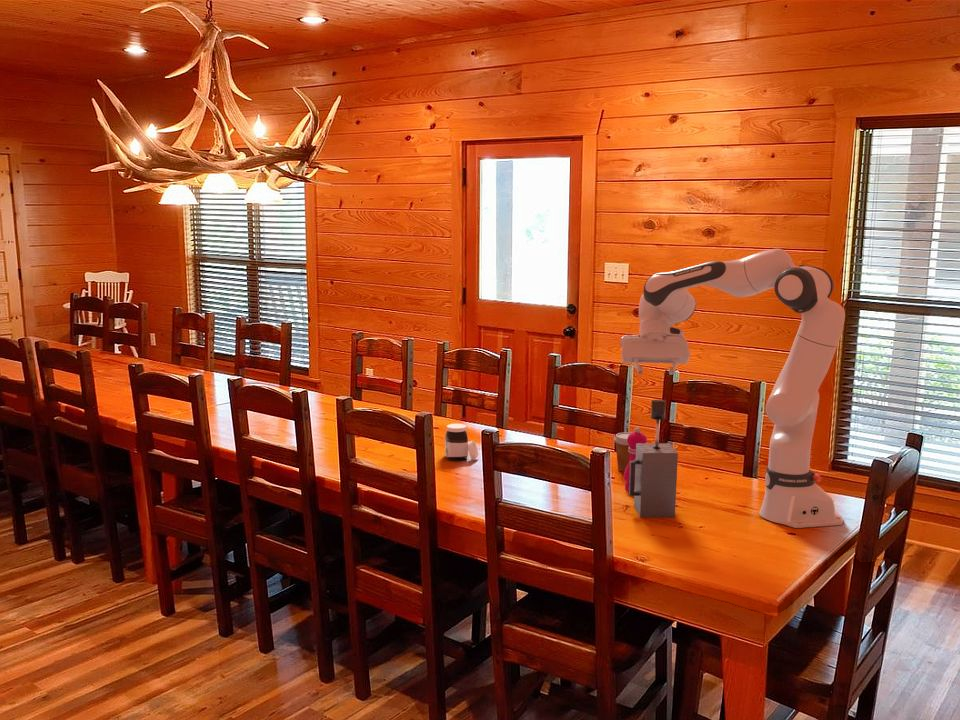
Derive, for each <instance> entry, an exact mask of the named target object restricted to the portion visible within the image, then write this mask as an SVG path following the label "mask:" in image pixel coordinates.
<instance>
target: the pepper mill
mask: <svg viewBox="0 0 960 720" xmlns="http://www.w3.org/2000/svg"><path fill="white" fill-rule="evenodd" d="M630 433H631V434H630V435H629V436H628V438H627V443H628V445H629V446H630V447H629V450H628V451H629V452H630V460H629V463H628V465H627V467H626V469H625V472H623V478H624V480H625V481H626V482H625V483H624V489H625V490H626V491H627V492H629V477H630V461H634V459H636V443H647V441H648V439H647V436H646V435H645V433H643V432H641V428H640V427H635V428H634V431H633V432H630ZM634 490H635V482H634Z"/></svg>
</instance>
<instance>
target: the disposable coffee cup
mask: <svg viewBox="0 0 960 720" xmlns="http://www.w3.org/2000/svg"><path fill="white" fill-rule="evenodd" d="M631 433H632V432H628V431H627V432H618V433H616V434H615V436H614V439H613V440H614V442H615V451H616V460H617V470H618V471H619V472H621V471H622V472H621V473H624V472H625V469H626V467H627V465H628V463H629V460H630V452H629V451H628V450H629V447H630V446H629V445H628V443H627V438H628V436H629V435H630V434H631Z"/></svg>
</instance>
